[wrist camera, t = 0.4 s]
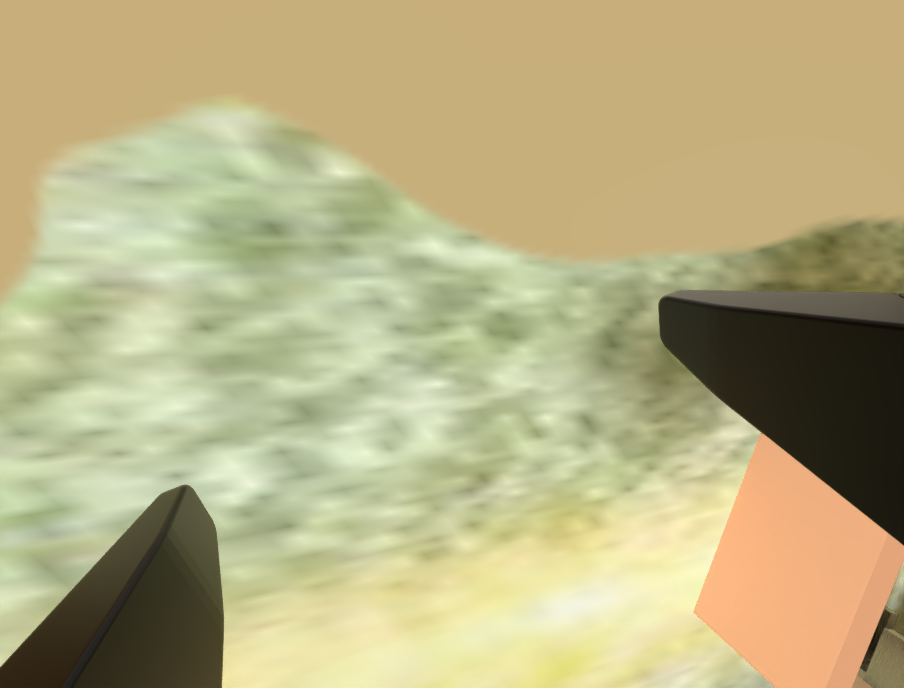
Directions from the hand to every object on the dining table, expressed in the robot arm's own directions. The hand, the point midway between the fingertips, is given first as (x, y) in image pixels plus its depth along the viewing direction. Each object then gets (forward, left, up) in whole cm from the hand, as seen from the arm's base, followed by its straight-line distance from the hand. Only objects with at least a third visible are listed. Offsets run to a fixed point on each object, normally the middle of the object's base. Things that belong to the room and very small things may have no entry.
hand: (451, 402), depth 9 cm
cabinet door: (-6, -26, -15) cm, 31 cm away
